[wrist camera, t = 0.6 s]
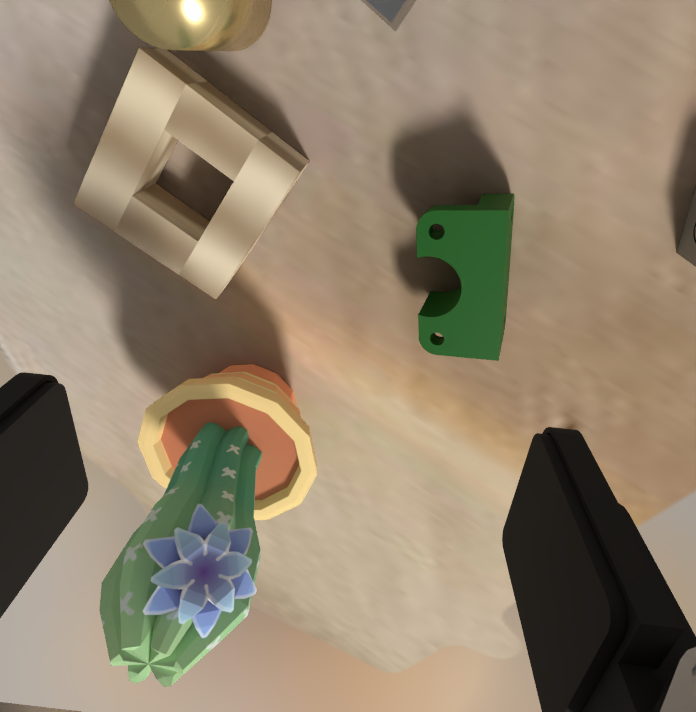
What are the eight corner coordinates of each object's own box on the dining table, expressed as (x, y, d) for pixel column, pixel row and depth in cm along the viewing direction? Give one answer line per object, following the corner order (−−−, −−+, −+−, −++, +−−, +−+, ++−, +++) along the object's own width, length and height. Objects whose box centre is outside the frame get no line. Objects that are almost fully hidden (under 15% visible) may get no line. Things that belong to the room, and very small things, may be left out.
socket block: (165, 48, 34) (138, 47, 31) (309, 161, 37) (299, 172, 34) (101, 191, 40) (73, 204, 37) (231, 280, 43) (215, 299, 39)
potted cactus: (354, 443, 51) (315, 726, 29) (222, 475, 55) (104, 743, 34) (288, 311, 44) (174, 555, 22) (144, 360, 48) (-68, 604, 27)
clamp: (441, 204, 42) (417, 183, 34) (516, 204, 40) (511, 181, 32) (430, 346, 44) (405, 360, 36) (502, 353, 42) (493, 369, 34)
